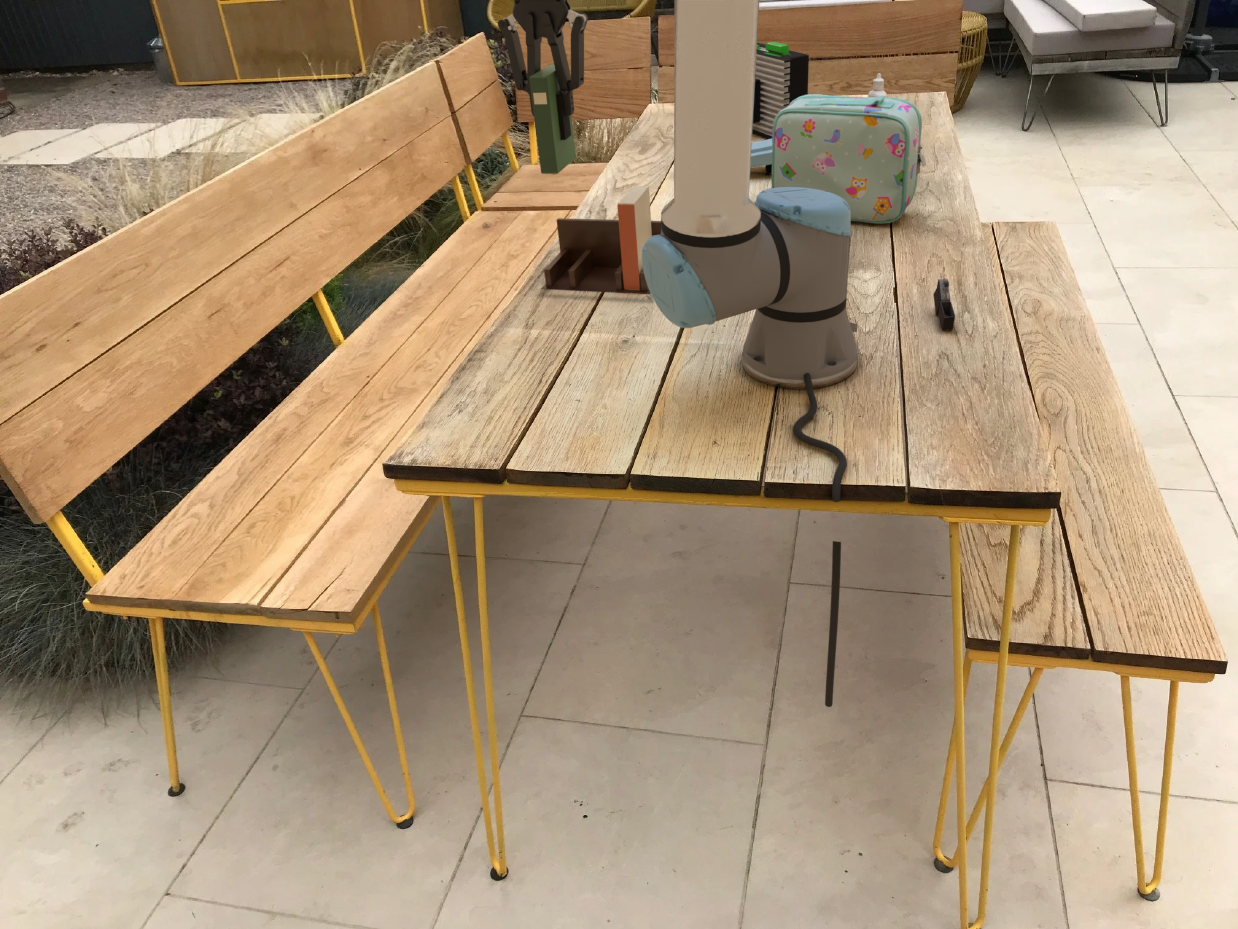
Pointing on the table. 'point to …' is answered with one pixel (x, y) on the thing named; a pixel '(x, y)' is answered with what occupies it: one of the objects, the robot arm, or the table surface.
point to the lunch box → (851, 151)
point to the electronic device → (776, 83)
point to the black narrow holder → (944, 305)
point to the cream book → (634, 233)
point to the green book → (549, 123)
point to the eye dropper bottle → (877, 87)
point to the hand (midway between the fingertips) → (555, 137)
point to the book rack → (590, 257)
